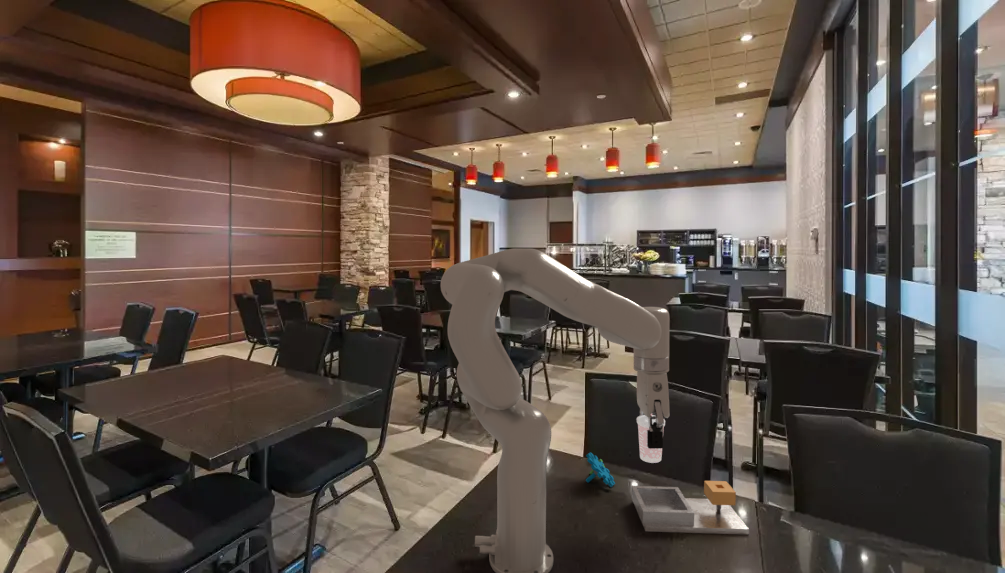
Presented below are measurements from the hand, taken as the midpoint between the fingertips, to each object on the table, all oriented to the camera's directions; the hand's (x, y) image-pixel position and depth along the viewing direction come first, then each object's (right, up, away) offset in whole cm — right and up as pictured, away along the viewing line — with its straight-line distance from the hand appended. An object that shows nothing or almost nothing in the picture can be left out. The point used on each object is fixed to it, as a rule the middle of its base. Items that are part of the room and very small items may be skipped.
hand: (650, 440), depth 105 cm
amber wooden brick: (+16, -14, +2) cm, 21 cm away
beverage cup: (0, -4, 0) cm, 4 cm away
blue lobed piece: (-8, -17, +18) cm, 26 cm away
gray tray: (+9, -18, +2) cm, 21 cm away
